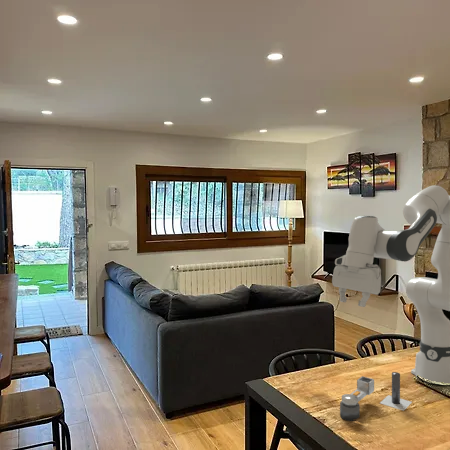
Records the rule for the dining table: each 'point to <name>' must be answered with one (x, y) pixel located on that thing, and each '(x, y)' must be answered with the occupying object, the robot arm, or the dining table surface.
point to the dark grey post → (395, 388)
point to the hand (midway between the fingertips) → (351, 304)
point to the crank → (359, 392)
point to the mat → (401, 406)
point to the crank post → (349, 412)
